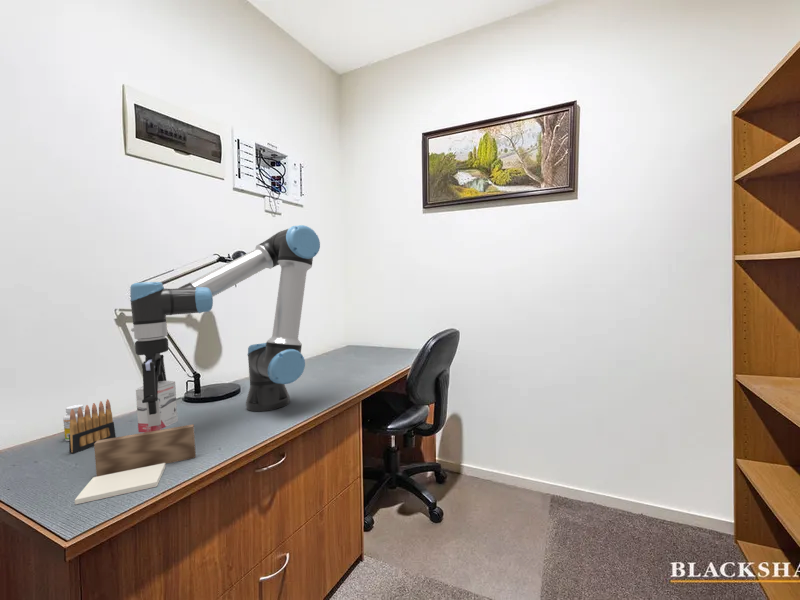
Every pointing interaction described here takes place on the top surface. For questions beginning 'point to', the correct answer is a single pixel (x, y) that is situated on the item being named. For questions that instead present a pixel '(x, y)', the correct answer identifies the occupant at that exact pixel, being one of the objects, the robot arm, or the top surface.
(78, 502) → the pad
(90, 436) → the ammunition clip
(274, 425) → the top surface
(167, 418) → the ink box
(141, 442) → the walnut screen
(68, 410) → the supplement bottle
